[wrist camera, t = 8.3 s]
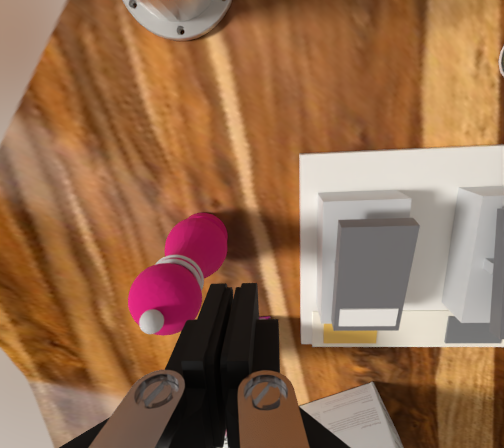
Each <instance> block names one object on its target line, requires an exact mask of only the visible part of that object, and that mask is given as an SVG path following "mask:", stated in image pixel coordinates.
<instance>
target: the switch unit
mask: <svg viewBox="0 0 504 448" xmlns="http://www.w3.org/2000/svg"><path fill="white" fill-rule="evenodd" d="M299 172H300V337H301V344H312V347H504V339H499V338H497V337H496V336H495V335H493V334H492V333H490V332H489V329H490V313H491V297H492V282H493V266H494V250H495V235H496V219H497V209H499V208H504V144H498V145H476V146H455V147H433V148H411V149H389V150H367V151H346V152H324V153H302V154H299ZM384 218H414V219H415V220H416V222H417V223H418V224H419V225H420V228H419V233H418V238H417V242H416V247H415V252H414V257H413V262H412V267H411V272H410V277H409V282H408V286H407V291H406V296H405V301H404V306H403V311H402V316H401V321H400V326H399V330H398V331H333V326H332V322H331V315H332V301H333V287H334V273H335V259H336V244H337V230H338V220H351V219H384Z"/></svg>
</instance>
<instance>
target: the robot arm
mask: <svg viewBox="0 0 504 448" xmlns="http://www.w3.org/2000/svg"><path fill="white" fill-rule="evenodd" d="M123 2H124V4H125V5H126V7H127V9H128V10H129V12H130V13H131V14H132V16H133V17H134V18H135V19H136V20H137V21H138V22H139V23H140V24H141V25H142V26H143V27H145V28H146V29H147V30H149V31H150V32H152V33H153V34H155V35H157V36H160V37H162V38H164V39H168V40H173V41H188V40H192V39H196V38H198V37H200V36H202V35H205V34H207V33H208V32H209V31H211V30H212V29H213V28H214V27H216V26H217V24H218V23H219V22H220V21H221V20H222V19H223V17H224V16H225V14H226V12H227V11H228V9H229V7H230V5H231V2H232V0H226V1H222V0H123ZM136 4H137V7H136V8H134V6H135V5H136ZM182 30H184V31H185V33H184V34H183V35H181V31H182ZM226 432H227V442H228V448H351V447H349V446H348V445H347V444H346V443H344V442H343V441H342V440H341V439H339V438H338V437H337V436H336V435H334V434H333V433H332V432H331V431H329V430H328V429H327V428H326V427H324V426H323V425H322V424H321V423H319V422H318V421H317V420H316V419H314V418H313V417H312V416H311V415H309V414H308V413H307V412H306V411H304V410H303V409H302V408H301V407H299V406H298V403H297V399H296V395H295V391H294V388H293V386H292V384H291V382H290V381H289V380H288V379H287V378H286V376H284V375H282V374H280V360H279V326H278V319H259V308H258V289H257V283H242V285H241V287H236V290H235V295H234V299H233V290H232V287H227V284H211V285H210V288H209V290H208V293H207V295H206V298H205V301H204V303H203V306H202V308H201V311H200V314H199V316H198V319H197V320H187V321H186V323H185V325H184V327H183V329H182V332H181V334H180V336H179V338H178V341H177V343H176V345H175V348H174V350H173V352H172V354H171V357H170V359H169V361H168V364H167V366H166V368H165V370H159V371H154V372H152V373H149V374H147V375H145V376H144V377H142V378H141V379H139V380H138V381H137V382H136V383H135V384H134V385H133V386H132V388H131V389H130V390H129V392H128V393H127V395H126V396H125V397H124V399H123V400H122V402H121V403H120V404H119V406H118V407H117V409H116V410H115V411H114V413H113V414H112V416H111V417H110V418H108V419H106V420H105V421H103V422H101V423H100V424H98V425H96V426H95V427H93V428H91V429H90V430H88V431H86V432H85V433H83V434H81V435H80V436H78V437H76V438H74V439H73V440H71V441H69V442H68V443H66V444H64V445H63V446H61V447H59V448H223V446H224V440H225V434H226Z"/></svg>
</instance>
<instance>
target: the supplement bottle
mask: <svg viewBox="0 0 504 448" xmlns="http://www.w3.org/2000/svg"><path fill="white" fill-rule="evenodd" d="M499 69H500V72H501V74H502V75H503V77H504V46H503V48H502V50H501V53H500V56H499Z"/></svg>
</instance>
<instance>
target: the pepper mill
mask: <svg viewBox="0 0 504 448" xmlns="http://www.w3.org/2000/svg"><path fill="white" fill-rule="evenodd" d="M227 240H228V234H227V230H226V227H225V225H224V224H223V222H222V221H221V220H220V219H219V218H217V217H216V216H214V215H212V214H208V213H197V214H194V215H192V216H190V217H189V218H187V219H185V220H183V221H181V222H179V223H178V224H177V225H175V226H174V227H173V229H172V230H171V232H170V233H169V235H168V237H167V240H166V244H165V257H163V258H162V259H160V260H159V261H158V262H157V263H156V264H155V265H153V266H151V267H148V268H147V269H145V270H144V271H143V272H141V273H140V274H139V275H138V277H137V278H136V279H135V281H134V282H133V284H132V286H131V289H130V291H129V297H128V306H129V310H130V313H131V315H132V317H133V319H134V320H135V322H136V323H137V324H138V325H139V326H140V328H141V330H142V331H143V332H145V333H147V334H156V335H171V334H175V333H178V332H180V331H182V329H183V327H184V325H185V323H186V321H187V320H194V319H195V318H196V316H197V314H198V312H199V309H200V307H201V302H202V293H201V290H202V288H203V284H204V278H206V277H208V276H210V275H211V274H213V273H214V272H216V271H217V270H218V269H219V268H220V266H221V265H222V263H223V261H224V260H225V258H226V255H227Z"/></svg>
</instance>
